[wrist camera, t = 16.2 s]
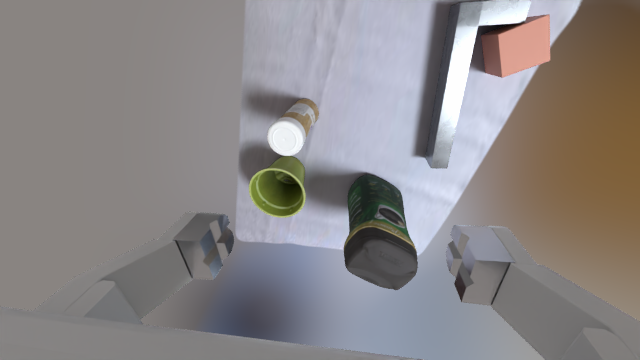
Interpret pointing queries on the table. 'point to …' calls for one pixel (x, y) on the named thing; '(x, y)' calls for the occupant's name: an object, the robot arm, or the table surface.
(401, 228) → the coffee jar
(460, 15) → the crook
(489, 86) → the table surface
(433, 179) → the table surface
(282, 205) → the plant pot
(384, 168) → the table surface
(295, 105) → the sprinkles bottle
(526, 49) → the block
